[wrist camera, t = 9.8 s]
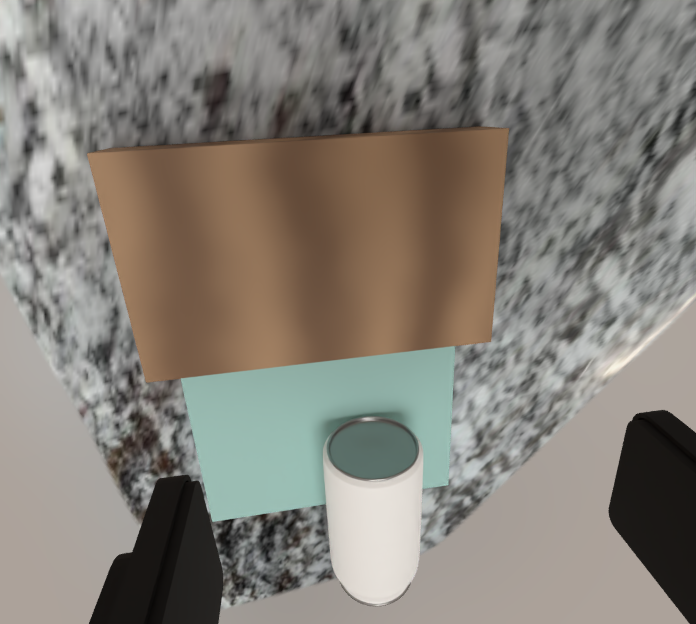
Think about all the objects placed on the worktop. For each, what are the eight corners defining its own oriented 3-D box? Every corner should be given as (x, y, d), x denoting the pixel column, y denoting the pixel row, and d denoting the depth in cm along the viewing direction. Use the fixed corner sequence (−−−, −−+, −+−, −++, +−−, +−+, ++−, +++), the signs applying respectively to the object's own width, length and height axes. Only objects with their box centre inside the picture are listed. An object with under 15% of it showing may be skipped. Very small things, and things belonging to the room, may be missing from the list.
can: (445, 447, 29) (437, 573, 34) (375, 401, 34) (377, 518, 39) (368, 502, 26) (371, 633, 31) (301, 442, 30) (314, 565, 35)
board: (480, 126, 26) (508, 128, 23) (468, 318, 31) (490, 341, 28) (111, 148, 24) (86, 153, 21) (159, 352, 29) (146, 382, 26)
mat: (453, 320, 31) (456, 322, 31) (446, 481, 37) (448, 484, 36) (176, 350, 29) (175, 354, 29) (213, 517, 35) (212, 521, 34)
